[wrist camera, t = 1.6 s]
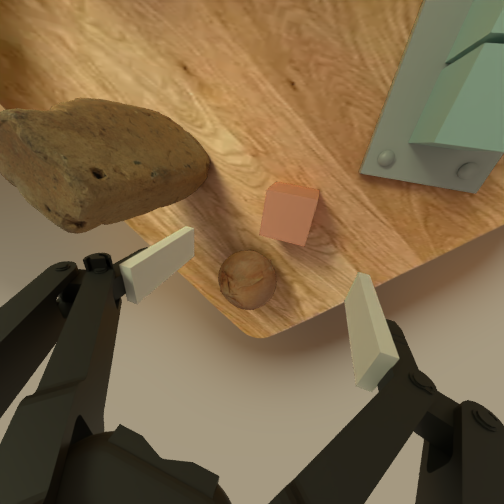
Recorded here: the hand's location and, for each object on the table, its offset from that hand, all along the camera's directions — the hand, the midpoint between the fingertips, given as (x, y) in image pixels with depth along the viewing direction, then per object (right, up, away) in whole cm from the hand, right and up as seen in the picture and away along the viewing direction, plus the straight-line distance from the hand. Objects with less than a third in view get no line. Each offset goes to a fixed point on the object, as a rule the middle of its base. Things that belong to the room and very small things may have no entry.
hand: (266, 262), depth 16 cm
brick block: (+5, +8, +14) cm, 16 cm away
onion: (0, -2, +21) cm, 21 cm away
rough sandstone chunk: (-12, +16, +15) cm, 25 cm away
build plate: (+19, +18, +3) cm, 26 cm away
